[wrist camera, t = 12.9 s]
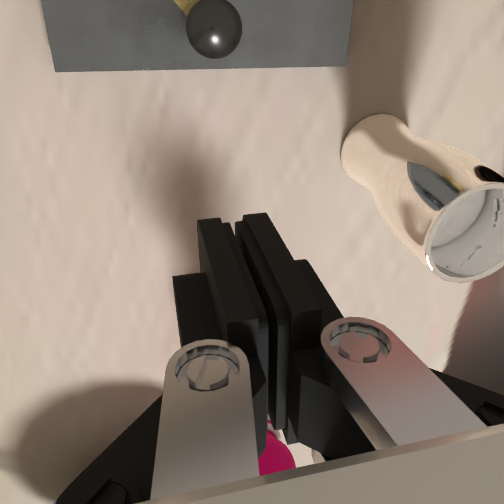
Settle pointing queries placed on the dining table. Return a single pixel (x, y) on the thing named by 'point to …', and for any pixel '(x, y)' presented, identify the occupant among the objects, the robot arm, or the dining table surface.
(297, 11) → the base plate
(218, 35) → the tan lever handle
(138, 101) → the dining table surface
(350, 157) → the beer glass
